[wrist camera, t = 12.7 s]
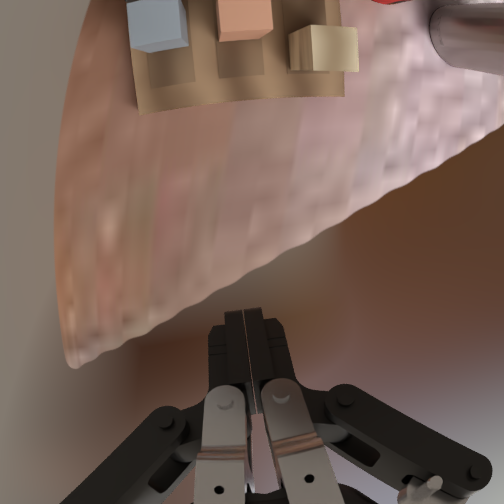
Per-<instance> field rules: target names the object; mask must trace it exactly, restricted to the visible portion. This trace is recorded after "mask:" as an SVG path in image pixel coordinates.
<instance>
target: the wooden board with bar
mask: <svg viewBox="0 0 504 504" xmlns="http://www.w3.org/2000/svg"><path fill="white" fill-rule="evenodd" d="M125 1H126V5H127V3H131V2H135V1H139V0H125ZM181 2H182V4H183V6H184V9H185V11H186V21H187V32H188V42H189V46H186V47H180V48H174V49H168V50H162V51H157V52H152V53H148V52H144V51H141V50H137V49H134V48H131V46H130V49H131V58H132V67H133V75H134V82H135V90H136V97H137V103H138V110H139V115H144V114H150V113H155V112H160V111H166V110H172V109H178V108H184V107H191V106H198V105H206V104H214V103H222V102H232V101H242V100H254V99H268V98H286V97H326V96H332V97H345V95H344V71H311V70H291V68H290V53H289V39H288V34H291V33H293V32H295V31H297V30H300V29H302V28H304V27H306V26H309V25H326V26H340V27H341V15H340V3H339V0H271V8H272V20H273V30H271V31H270V32H269V33H267V34H266V35H264V36H263V37H261V38H260V39H251V40H236V41H225V42H219V37H218V26H217V15H216V0H181ZM127 18H128V14H127ZM128 29H129V26H128ZM129 40H130V36H129Z"/></svg>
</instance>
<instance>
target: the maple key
mask: <svg viewBox="0 0 504 504" xmlns="http://www.w3.org/2000/svg"><path fill="white" fill-rule="evenodd" d="M288 39H289V53H290V68H291V70H311V71H349V72H359V60H358V40H357V28H351V27H340V26H326V25H309V26H306V27H304V28H302V29H300V30H297V31H295V32H293V33H291V34H288Z"/></svg>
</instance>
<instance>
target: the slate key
mask: <svg viewBox="0 0 504 504" xmlns="http://www.w3.org/2000/svg"><path fill="white" fill-rule="evenodd" d="M127 14H128V26H129V36H130V46H131V48H134V49H137V50H141V51H144V52H148V53H152V52H157V51H162V50H168V49H174V48H180V47H186V46H189V42H188V32H187V21H186V11H185V9H184V6H183V4H182V2H181V0H139V1H135V2H131V3H127Z"/></svg>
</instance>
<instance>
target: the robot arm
mask: <svg viewBox="0 0 504 504" xmlns="http://www.w3.org/2000/svg"><path fill="white" fill-rule="evenodd" d="M430 34H431V39H432V42H433V45H434V47H435V49H436V51H437V52H438V54H439V55H440V57H441V58H442V59H443V60H444V61H445V62H447V63H448V64H449V65H451V66H453V67H457V68H463V69H469V70H475V71H480V72H486V73H491V74H496V75H501V76H504V3H477V4H461V5H450V6H443V7H440V8H438V9H437V10H436V11H435V12H434V13H433V15H432V17H431V21H430ZM224 314H225V325H217V326H213V327H212V330H211V331H210V333H209V335H208V347H209V348H208V355H209V357H208V358H209V359H208V362H209V391H208V393H207V395H206V397H205V398H204V399H203V401H201V402H200V403H198V404H197V405H195V406H192V407H190V408H187V409H184V410H181V411H180V410H179V409H178V408H176V407H173V406H163V407H159V408H157V409H156V410H154V411H153V412H152V413H151V414H150V415H149V416H148V417H147V418H146V419H145V420H144V421H143V422H142V423H141V424H140V425H139V426H138V427H137V428H136V429H135V430H134V431H133V432H132V433H131V434H130V435H129V436H128V437H127V438H126V440H124V441H123V442H122V443H121V445H119V446H118V447H117V448H116V449H115V450H114V451H113V452H112V453H111V455H110V456H108V457H107V459H105V460H104V461H103V462H102V463H101V464H100V465H99V466H98V467H97V468H96V469H95V471H93V472H92V473H91V474H90V475H89V476H88V477H87V478H86V479H85V480H84V481H83V482H82V483H81V484H80V485H79V486H78V487H77V488H76V489H75V490H74V491H73V492H71V494H69V495H68V496H67V497H66V498H65V499H64V500H63V501H62V502H61V503H60V504H162V502H164V500H165V499H166V498H167V497H168V496H169V495H170V494H171V493H172V492H173V490H174V489H175V488H176V487H177V486H178V485H179V484H180V483H181V481H182V480H183V479H184V478H185V477H186V476H187V474H188V473H189V472H190V471H191V470H192V469H193V468H194V466H195V465H196V470H195V487H194V488H195V489H194V502H193V503H191V504H378V503H376V502H375V501H373V500H372V499H370V498H369V497H367V496H366V495H364V494H363V493H361V492H360V491H358V490H356V489H354V488H352V487H350V486H347V485H344V484H339V483H337V480H336V477H335V475H334V472H333V469H332V466H331V463H330V460H329V457H328V454H327V452H326V449H325V446H324V445H326V446H327V447H329V448H330V449H331V450H333V451H334V452H336V453H337V454H339V455H340V456H342V457H344V458H345V459H346V460H348V461H350V462H351V463H353V464H354V465H356V466H358V467H359V468H361V469H362V470H364V471H366V472H367V473H369V474H371V475H372V476H374V477H376V478H377V479H379V480H381V481H382V482H384V483H386V484H387V485H389V486H391V487H393V488H394V489H396V490H398V491H399V493H398V497H397V501H398V504H465V503H466V501H467V500H468V498H469V497H470V496H471V495H473V494H474V493H476V492H478V491H479V490H481V489H482V488H484V487H485V486H486V485H487V484H488V483H489V481H490V479H491V477H492V465H491V463H490V461H489V460H488V459H487V458H486V457H485V456H483V455H481V454H479V453H477V452H475V451H473V450H471V449H469V448H467V447H465V446H463V445H461V444H459V443H457V442H455V441H453V440H451V439H449V438H447V437H445V436H444V435H442V434H440V433H438V432H436V431H434V430H432V429H430V428H428V427H427V426H425V425H423V424H421V423H419V422H417V421H415V420H413V419H412V418H410V417H408V416H406V415H404V414H403V413H401V412H399V411H397V410H396V409H394V408H392V407H390V406H389V405H387V404H385V403H383V402H381V401H380V400H378V399H376V398H374V397H373V396H371V395H369V394H367V393H366V392H364V391H362V390H361V389H359V388H357V387H355V386H353V385H350V384H340V385H337V386H335V387H333V388H331V389H330V390H329V391H318V390H311V389H308V388H306V387H304V386H303V385H301V384H300V383H299V382H298V381H297V379H296V377H295V373H294V369H293V365H292V361H291V357H290V353H289V349H288V345H287V340H286V337H285V332H284V329H283V326H282V324H281V323H280V322H279V321H278V320H277V319H276V318H271V319H263V314H262V309H261V307H258V308H251V309H244V317H245V325H246V333H247V340H246V334H245V327H244V320H243V314H242V310H236V311H227V312H225V313H224ZM247 341H248V348H249V356H250V363H249V356H248V348H247ZM250 364H251V371H250ZM251 372H252V378H253V386H254V391H255V399H256V404H257V411H258V414H259V413H263V416H264V423H265V431H266V435H267V439H268V443H269V447H270V451H271V455H272V459H273V463H274V467H275V471H276V476H277V481H278V485H279V490H276V491H274V492H271V493H268V494H259V493H255V485H254V477H253V456H252V455H253V454H252V420H251V415H253V414H256V410H255V402H254V394H253V387H252V379H251Z"/></svg>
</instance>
